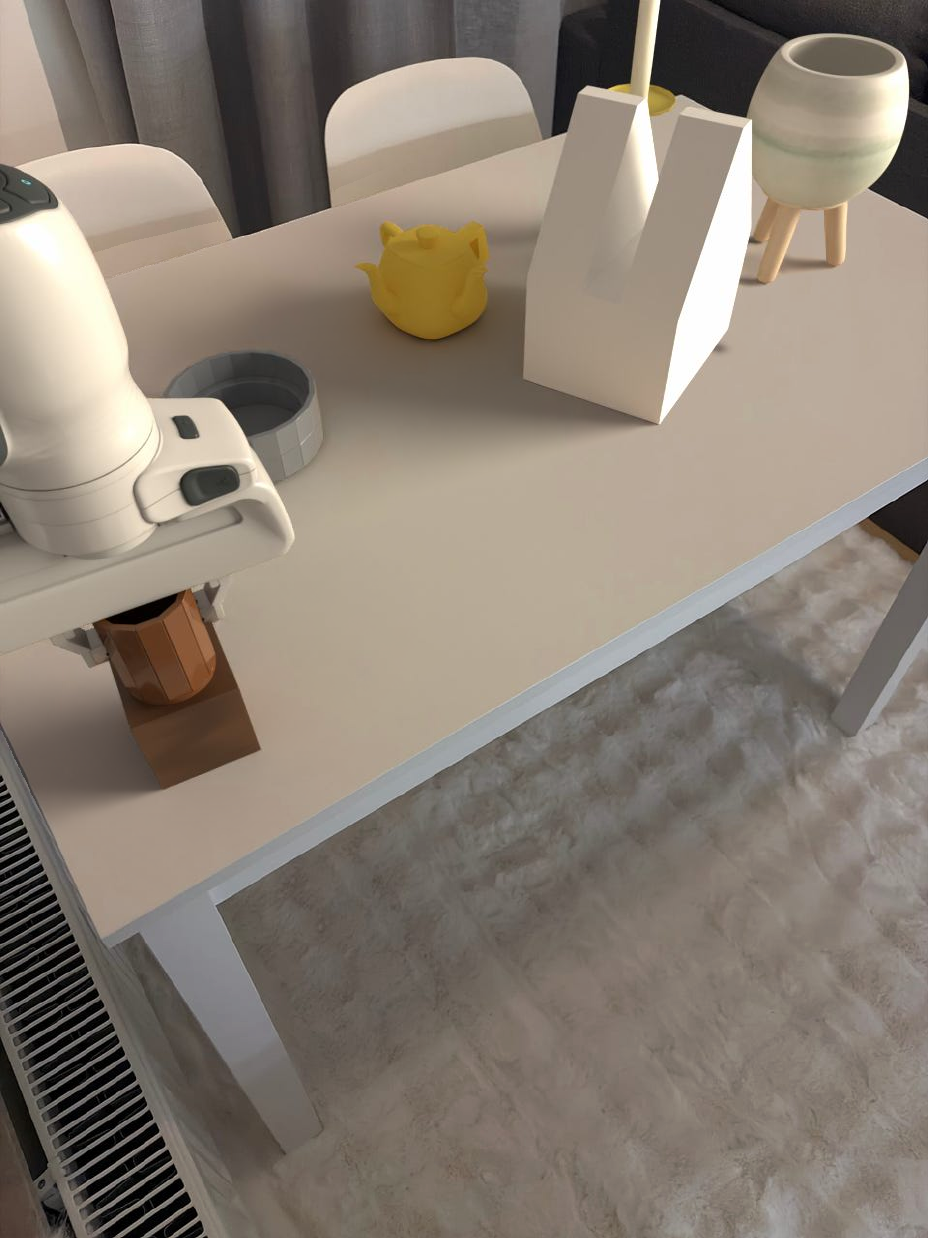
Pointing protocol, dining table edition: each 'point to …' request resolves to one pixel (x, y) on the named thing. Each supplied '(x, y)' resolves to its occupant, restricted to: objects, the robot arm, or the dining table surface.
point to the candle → (647, 62)
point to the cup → (160, 649)
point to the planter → (823, 134)
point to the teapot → (430, 278)
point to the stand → (192, 725)
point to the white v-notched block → (637, 254)
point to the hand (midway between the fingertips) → (157, 635)
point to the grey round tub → (261, 403)
